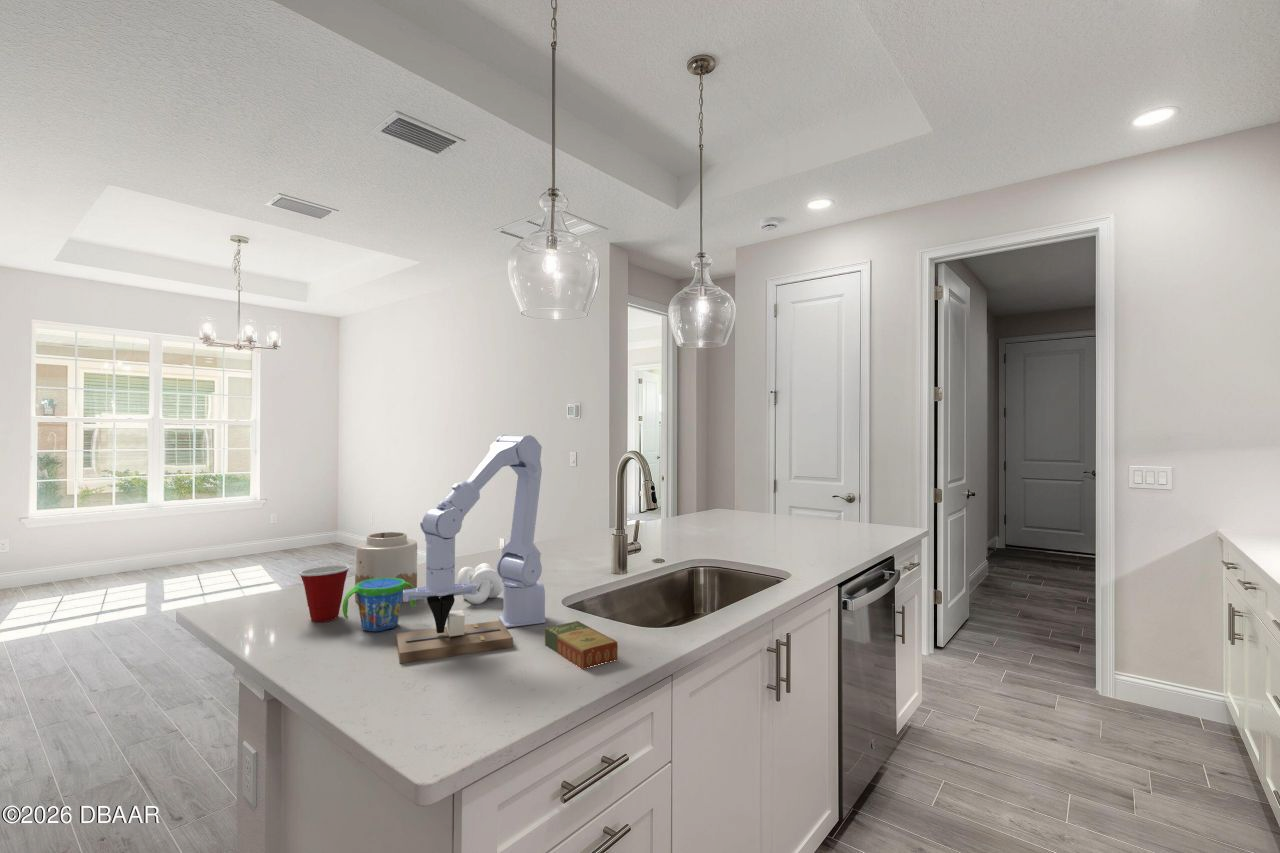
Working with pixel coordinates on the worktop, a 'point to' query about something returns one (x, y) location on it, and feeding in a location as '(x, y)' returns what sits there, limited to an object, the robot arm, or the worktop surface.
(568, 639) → the carton
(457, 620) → the fader tab
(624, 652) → the worktop surface
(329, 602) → the plastic cup
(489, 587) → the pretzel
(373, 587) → the snack cup
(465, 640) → the fader console
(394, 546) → the vase
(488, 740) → the worktop surface
